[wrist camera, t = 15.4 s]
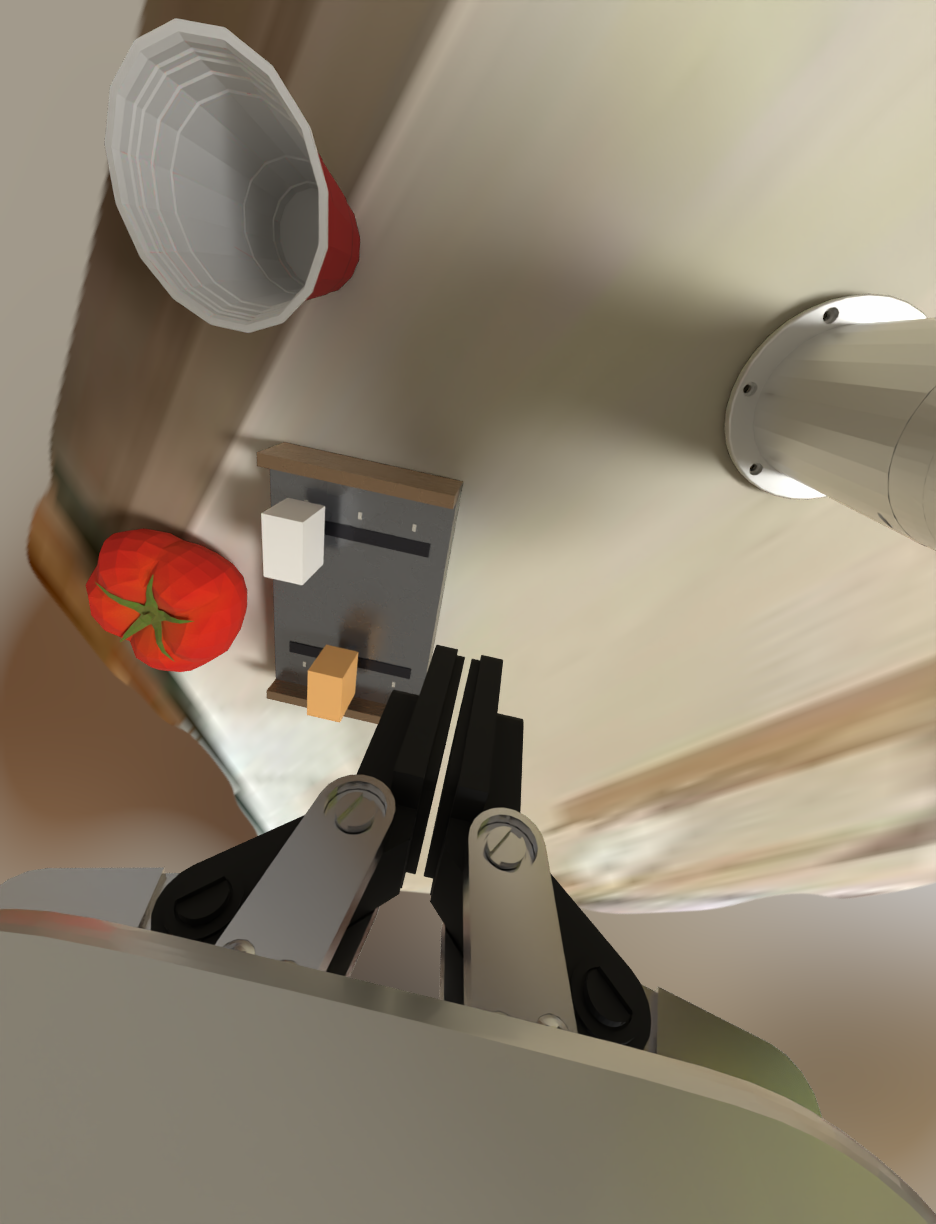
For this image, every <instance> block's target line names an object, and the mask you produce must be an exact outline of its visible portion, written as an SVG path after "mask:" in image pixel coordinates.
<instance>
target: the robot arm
mask: <svg viewBox="0 0 936 1224" xmlns="http://www.w3.org/2000/svg"><path fill="white" fill-rule="evenodd" d="M825 312H827V318H826V319H825V320H824V321H823V315H824V313H825ZM745 385H748V386H749V388H748V390H747V391H746V392H745V393H744V392H743V388H744V387H745ZM724 428H725V438H726V445H727V448H728V451H729V455H730V458H731V460H732V461H733V463H734V465H735V466H736V468H737V470H738V471H739V472H740V473H741V474H742V475H743V476H744V477H745V478H746V479H747V480H748V481H749V482H750V483H752V484H753V485H755V486H756V487H758V488H759V489H761V490H763V491H765V492H768V493H770V494H772V495H774V496H779V497H783V498H788V499H807V500H808V499H815V498H822V497H829V498H831V499H833V500H835V501H837V502H839V503H841V504H843V505H845V506H847V507H849V508H851V509H853V510H855V511H857V512H859V513H861V514H863V515H865V516H867V517H869V518H871V519H872V520H874V521H876V522H878V523H880V524H882V525H884V526H886V527H888V528H890V529H892V530H894V531H896V532H898V533H900V534H902V535H904V536H906V537H908V538H910V539H912V540H914V541H916V542H918V543H919V544H921V545H924V546H926V547H929V548H931V549H933V550H935V551H936V318H927V316H926V315H925V314H924V313H923V312H922V311H921V310H919V309H918V308H916V307H915V306H913V305H912V304H910V303H909V302H907V301H904V300H901V299H898V298H895V297H892V296H889V295H878V294H861V295H852V296H846V297H841V298H837V299H833V300H828V301H826V302H823V303H821V304H818V305H816V306H814V307H811V308H809V309H806V310H805V311H803V312H801V313H800V314H798V315H796V316H795V317H793V318H791V319H790V320H788V321H787V322H785V323H784V324H783V325H782V326H780V327H779V328H778V329H777V330H776V331H774V332H773V333H772V334H771V335H770V336H768V337H767V339H766V340H765V341H764V342H763V343H762V344H761V345H760V346H759V347H758V348H757V350H756V351H755V352H754V353H753V354H752V356H751V357H750V359H749V360H748V361H747V363H746V364H745V366H744V367H743V369H742V370H741V372H740V374H739V376H738V378H737V380H736V382H735V385H734V387H733V389H732V391H731V394H730V398H729V401H728V405H727V408H726V416H725V426H724ZM753 464H754V465H755V466H754V468H753V469H751V470H749V469H750V467H751V466H752V465H753ZM457 652H458V649H453V648H449V647H445V646H440V645H436V648H435V650H434V653H433V656H432V659H431V662H430V665H429V668H428V671H427V674H426V677H425V680H424V683H423V686H422V689H421V692H420V694H419V695H416V694H411V693H407V692H403V691H398V690H393V691H392V693H391V695H390V697H389V699H388V702H387V704H386V706H385V709H384V711H383V713H382V716H381V718H380V721H379V723H378V725H377V728H376V730H375V732H374V735H373V737H372V739H371V742H370V744H369V746H368V749H367V751H366V754H365V756H364V758H363V761H362V763H361V765H360V768H359V770H358V772H357V775H348V776H345V777H341V778H338V779H337V780H335V781H333V782H332V783H330V784H328V785H327V787H326V788H325V789H324V790H323V791H322V792H321V793H320V794H319V796H318V797H317V799H316V800H315V802H314V803H313V804H312V806H311V807H310V809H309V810H308V812H307V813H306V814H305V815H304V816H302V817H299V818H297V819H295V820H293V821H290V822H288V823H286V824H284V825H282V826H279V827H277V828H275V829H273V830H270V831H268V832H266V833H264V834H262V835H259V836H257V837H255V838H253V839H250V840H248V841H246V842H244V843H242V844H239V845H237V846H235V847H233V848H230V849H228V850H226V851H224V852H222V853H219V854H217V855H215V856H213V857H211V858H208V859H206V860H204V861H202V862H199V863H197V864H195V865H193V866H191V867H190V868H188V869H186V870H185V871H183V872H181V873H165V869H164V868H45V869H38V870H32V871H27V872H25V873H23V874H20V875H18V876H15V877H13V878H10V879H8V880H7V881H5V882H4V883H2V884H1V885H0V1224H936V1214H935V1213H934V1212H933V1211H932V1209H931V1208H930V1207H929V1206H928V1205H927V1204H926V1203H925V1202H924V1201H923V1200H922V1198H921V1197H920V1196H919V1195H918V1194H917V1193H916V1192H915V1191H914V1190H913V1189H912V1188H911V1187H910V1186H909V1185H908V1184H906V1183H905V1182H904V1181H903V1180H902V1179H901V1178H900V1177H899V1176H898V1175H897V1174H896V1173H894V1172H893V1171H892V1170H891V1169H890V1168H888V1167H887V1166H886V1165H885V1164H884V1163H883V1162H882V1161H881V1160H879V1159H878V1158H877V1157H876V1156H875V1155H873V1154H872V1153H871V1152H870V1151H868V1150H867V1149H866V1148H864V1147H863V1146H862V1145H860V1144H859V1143H857V1142H856V1141H855V1140H854V1139H852V1138H851V1137H850V1136H848V1135H847V1134H846V1133H845V1132H843V1131H842V1130H840V1129H839V1128H837V1127H835V1126H834V1125H832V1124H831V1123H829V1122H828V1121H826V1120H824V1119H823V1118H822V1115H821V1112H820V1109H819V1106H818V1103H817V1100H816V1098H815V1094H814V1092H813V1090H812V1089H811V1087H810V1086H809V1084H808V1082H807V1080H806V1079H805V1077H804V1075H803V1074H802V1072H801V1071H800V1070H799V1069H798V1067H797V1066H796V1065H795V1064H794V1063H793V1062H792V1061H791V1060H790V1058H789V1057H788V1056H787V1055H786V1054H784V1053H783V1052H782V1051H780V1050H779V1049H777V1048H776V1047H775V1046H773V1045H772V1044H770V1043H768V1042H766V1041H765V1040H763V1039H760V1038H759V1037H756V1036H755V1035H753V1034H750V1033H749V1032H747V1031H745V1030H742V1029H741V1028H739V1027H737V1026H735V1025H733V1024H731V1023H729V1022H727V1021H725V1020H723V1019H721V1018H719V1017H717V1016H715V1015H713V1014H711V1013H709V1012H707V1011H705V1010H703V1009H702V1008H699V1007H698V1006H696V1005H694V1004H692V1003H690V1002H688V1001H686V1000H684V999H682V998H680V997H678V996H675V995H674V994H672V993H670V992H668V991H666V990H664V989H662V988H660V987H658V988H657V989H656V990H655V991H653V990H651V989H649V988H647V987H645V986H643V985H642V984H641V983H640V982H639V980H638V979H637V977H636V976H635V974H634V973H633V971H632V970H631V969H630V967H629V966H628V965H627V964H626V963H625V962H624V960H623V959H622V958H621V957H620V956H619V955H618V953H617V952H616V951H615V950H614V949H613V947H612V946H611V945H610V944H609V942H608V941H607V940H606V939H605V938H604V937H603V935H602V934H601V933H600V932H599V931H598V929H597V928H596V927H595V926H594V925H593V924H592V922H591V921H590V920H589V919H588V917H587V916H586V915H585V914H584V913H583V911H582V910H581V909H580V908H579V907H578V906H577V904H576V903H575V902H574V901H573V900H572V898H571V897H570V896H569V895H568V894H567V892H566V891H565V890H564V889H563V888H562V886H561V885H560V884H559V883H558V882H557V880H556V879H555V878H554V877H553V876H552V875H551V873H550V868H549V862H548V857H547V851H546V845H545V842H544V839H543V836H542V834H541V832H540V831H539V829H538V828H537V826H536V825H535V824H534V823H533V822H532V821H531V820H530V819H529V818H528V817H526V816H525V815H523V814H521V813H520V807H521V780H522V753H523V719H520V718H516V717H511V716H507V715H503V714H498V713H497V711H498V702H499V693H500V684H501V675H502V666H503V660H502V659H497V658H493V657H489V656H484V655H481V659H480V660H475V659H472V660H471V665H470V669H469V673H468V678H467V682H466V686H465V691H464V695H463V699H462V704H461V708H460V712H459V716H458V721H457V725H456V729H455V734H454V738H453V743H452V747H451V752H450V756H449V761H448V765H447V770H446V775H445V779H444V784H443V789H442V793H441V798H440V803H439V807H438V812H437V816H436V821H435V826H434V830H433V835H432V840H431V844H430V849H429V854H428V858H427V863H426V867H425V872H424V876H425V877H429V878H433V882H432V887H431V893H430V895H431V901H430V902H431V903H432V905H433V907H434V908H435V910H436V911H437V913H438V915H439V916H440V918H441V919H442V921H443V922H442V928H441V952H440V954H441V955H440V988H439V990H440V991H439V999H436V998H432V997H428V996H423V995H419V994H415V993H411V992H407V991H403V990H399V989H395V988H391V987H386V986H382V985H378V984H374V983H370V982H365V981H362V980H358V979H353V978H350V975H351V973H352V971H353V968H354V966H355V964H356V962H357V959H358V957H359V955H360V952H361V950H362V948H363V946H364V943H365V941H366V939H367V937H368V934H369V932H370V930H371V927H372V925H373V923H374V921H375V918H376V916H377V913H378V910H379V906H381V905H382V904H384V903H385V902H387V901H389V900H390V899H392V898H393V897H395V896H397V895H398V894H399V892H400V888H402V885H403V881H404V877H405V873H406V872H408V873H412V874H416V870H417V866H418V862H419V857H420V853H421V849H422V844H423V840H424V836H425V831H426V827H427V823H428V818H429V814H430V810H431V805H432V801H433V797H434V793H435V788H436V784H437V780H438V775H439V771H440V767H441V762H442V758H443V754H444V749H445V745H446V741H447V736H448V732H449V727H450V723H451V718H452V714H453V709H454V705H455V700H456V696H457V691H458V687H459V682H460V678H461V673H462V669H463V664H464V660H465V657H462V656H458V655H457Z"/></svg>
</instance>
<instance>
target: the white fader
mask: <svg viewBox="0 0 936 1224" xmlns="http://www.w3.org/2000/svg"><path fill="white" fill-rule="evenodd" d="M261 522H262V547H263V572H264V577H268V578H272V579H276V580H281V581H285V582H290V583H294V584H299V585H303V584H304V583H305V582H306V581H307V580H308V579H309V578H310V577H311V576H312V575H313V574H314V573H315V572H316V571H317V570H318V569H319V568H320V567H321V566H322V565H323V557H324V525H325V506H323V505H319V504H314V503H310V502H305V501H301V500H296V499H292V498H286V499H284V500H283V501H281V502H279V503H277V504H276V505H274V506H272V507H271V508H269V509H267V510H266V511H264V512H262V513H261Z"/></svg>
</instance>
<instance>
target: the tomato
mask: <svg viewBox="0 0 936 1224" xmlns="http://www.w3.org/2000/svg"><path fill="white" fill-rule="evenodd" d="M86 589H87V593H88V598H89V604H90V609H91V615H92V616H93V617H94V619H95V620H96V621H97V622H98V623H99V624H100V625H101V626H102V628H103V629H104V630H105V631H107V632H110V633H112V634H114V635H117V636H119V637H121V640H120V642H121V641H123V640H125V639H126V640H129V641H130V642H131V645H132V648H133V651H134V653H135V656H136V658H138V659H139V660H141V661H142V662H144V663H145V664H147V665H149V666H150V667H152V668H156V669H159V670H165V671H175V672H184V671H191V670H193V669H195V668H197V667H199V666H202V665H204V664H206V663H207V662H209V661H211V660H213V659H214V658H216V657H218V656H219V655H221V654H223V653H224V652H226V651H228V649H229V647H230V646H231V644H232V643H233V641H234V639H235V638H236V636H237V634H238V632H239V631H240V629H241V627H242V623H243V620H244V616H245V613H246V608H247V588H246V585H245V581H244V578H243V576H242V574H241V573H240V572H239V571H238V570H237V568H236V567H235V566H234V565H233V564H232V563H231V562H229V561H228V560H226V559H225V558H223V557H222V556H220V555H219V554H217V553H215V552H213V551H211V550H209V549H207V548H205V547H203V546H201V545H198V544H195V543H191V542H187V541H184V540H182V539H180V538H178V537H176V536H174V535H172V534H171V533H167V532H161V531H156V530H150V529H138V530H131V531H125V532H119V533H114V534H112V535H111V536H110V537H109V538H108V539H106V540H105V541H104V543H103V546H102V549H101V551H100V554H99V559H98V565H97V566H96V568H95V570H94V571H93V573H92V574H91V576H90V578H89V580H88V582H87V583H86Z"/></svg>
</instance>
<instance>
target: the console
mask: <svg viewBox="0 0 936 1224" xmlns="http://www.w3.org/2000/svg"><path fill="white" fill-rule="evenodd" d="M257 466H259V467H264V468H268V469H270V489H271V507H272V506H274V505H276V504H277V503H279V502H281V501H283V500H284V499H286V498H292V499H296V500H301V501H305V502H310V503H314V504H319V505H323V506H325V525H324V557H323V565H322V566H321V567H320V568H319V569H318V570H317V571H316V572H315V573H314V574H313V575H312V576H311V577H310V578H309V579H308V580H307V581H306V582H305V583H304V584H303V585H299V584H294V583H290V582H285V581H281V580H276V579H273V593H274V628H275V663H276V679H275V681H274V682H273V683H272V685H271V686H270V687H269V688H268V690H267V699H272V700H276V701H280V702H285V703H289V704H293V705H298V706H302V707H306V708H307V686H308V670H309V668H310V667H311V665H312V664H313V662H314V661H315V660H316V658H317V657H318V655H319V654H320V653H321V651H322V650H323V648H324V647H325V646H326V645H330V646H335V647H339V648H344V649H348V650H352V651H357V652H358V662H357V675H356V687H355V695H354V697H353V698H352V700H351V702H350V704H349V706H348V708H347V710H346V712H345V714H344V716H345V717H349V718H354V719H358V720H362V721H367V722H371V723H375V724H378V723H379V721H380V718H381V716H382V713H383V711H384V709H385V706H386V704H387V702H388V699H389V697H390V695H391V693H392V691H393V690H398V691H403V692H407V693H411V694H416V695H419V694H420V692H421V689H422V686H423V683H424V680H425V677H426V674H427V671H428V668H429V665H430V662H431V659H432V653H433V648H434V642H435V636H436V631H437V625H438V620H439V614H440V608H441V603H442V597H443V592H444V586H445V581H446V575H447V569H448V564H449V558H450V553H451V547H452V541H453V536H454V530H455V525H456V519H457V513H458V508H459V502H460V497H461V491H462V486H463V481H458V480H454V479H449V478H445V477H440V476H436V475H431V474H427V473H422V472H418V471H413V470H408V469H404V468H399V467H395V466H390V465H386V464H381V463H377V462H372V461H368V460H363V459H359V458H354V457H350V456H345V455H340V454H336V453H331V452H327V451H322V450H318V449H313V448H309V447H304V446H300V445H295V444H291V443H286V442H283V443H281V444H278V445H275V446H273V447H270V448H267V449H265V450H262V451H259V452H257Z"/></svg>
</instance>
